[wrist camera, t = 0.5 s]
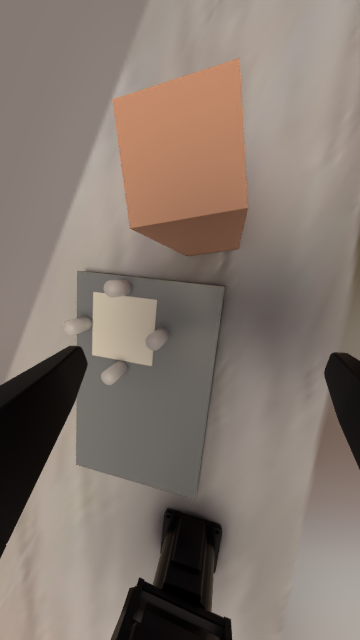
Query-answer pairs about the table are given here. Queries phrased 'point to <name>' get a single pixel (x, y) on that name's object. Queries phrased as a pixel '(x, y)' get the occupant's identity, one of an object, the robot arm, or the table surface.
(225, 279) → the table surface
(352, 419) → the robot arm
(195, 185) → the terracotta block
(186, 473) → the base plate
